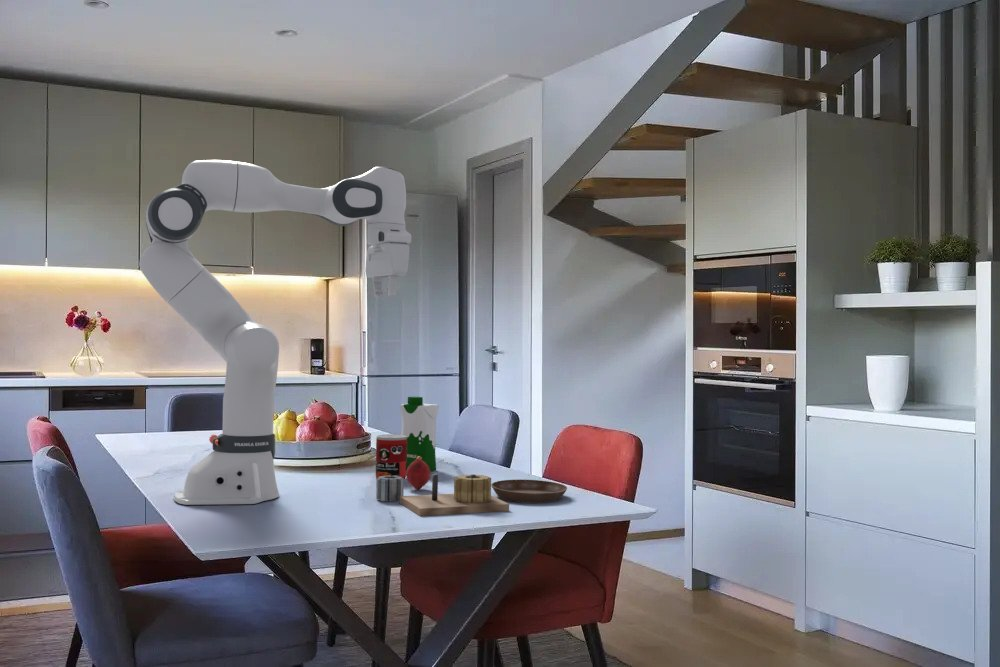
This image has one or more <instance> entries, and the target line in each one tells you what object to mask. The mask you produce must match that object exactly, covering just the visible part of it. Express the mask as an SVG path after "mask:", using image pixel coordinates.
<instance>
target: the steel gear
mask: <svg viewBox="0 0 1000 667" xmlns="http://www.w3.org/2000/svg"><path fill="white" fill-rule="evenodd" d="M375 479H376V478H375ZM404 482H405V480H404V478H402V477H400V476H380V477H378V478H377V479H376V482H375V484H376V485H375V486H376V487H375V499H376V500H378V501H379V500H380V502H385V501H387V502H386V503H388V502H390V503H394V501H395V502H400V496H404V494H405V493H404V490H405V489H404V488H405V487H404V485H405V483H404Z"/></svg>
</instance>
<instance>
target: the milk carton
mask: <svg viewBox="0 0 1000 667" xmlns="http://www.w3.org/2000/svg"><path fill="white" fill-rule="evenodd" d="M423 398H424V397H423V396H407V403H402V404H399V408H400V414H401V435H405V436H407V468H408V467H409V465H410V464H411V463H412V462H414V461H415V460H416V458H417V457H418V456H420V457H422V461H424V462H425V463H426V464H427V465H428V467H429V469H430V472H435V471H437V461H436V457H437V456H436V437H437V436H436V433H437V432H436V430H437V428H436V427H437V417H438V413H439V412H438V411H439V406H440V404H433V403H432V404H430V403H424V402H423V401H424V400H423ZM407 468H406V472H407Z"/></svg>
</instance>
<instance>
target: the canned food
mask: <svg viewBox="0 0 1000 667" xmlns="http://www.w3.org/2000/svg"><path fill="white" fill-rule="evenodd" d="M406 468H407V436H405V435H402V434H393V433H392V434H391V433H389V434H380V435H379V434H377V435H376V439H375V479H377V478H378V477H380V476H400V477H402V478H404V481H405V480H406V479H407V476H406V472H407V471H406Z"/></svg>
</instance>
